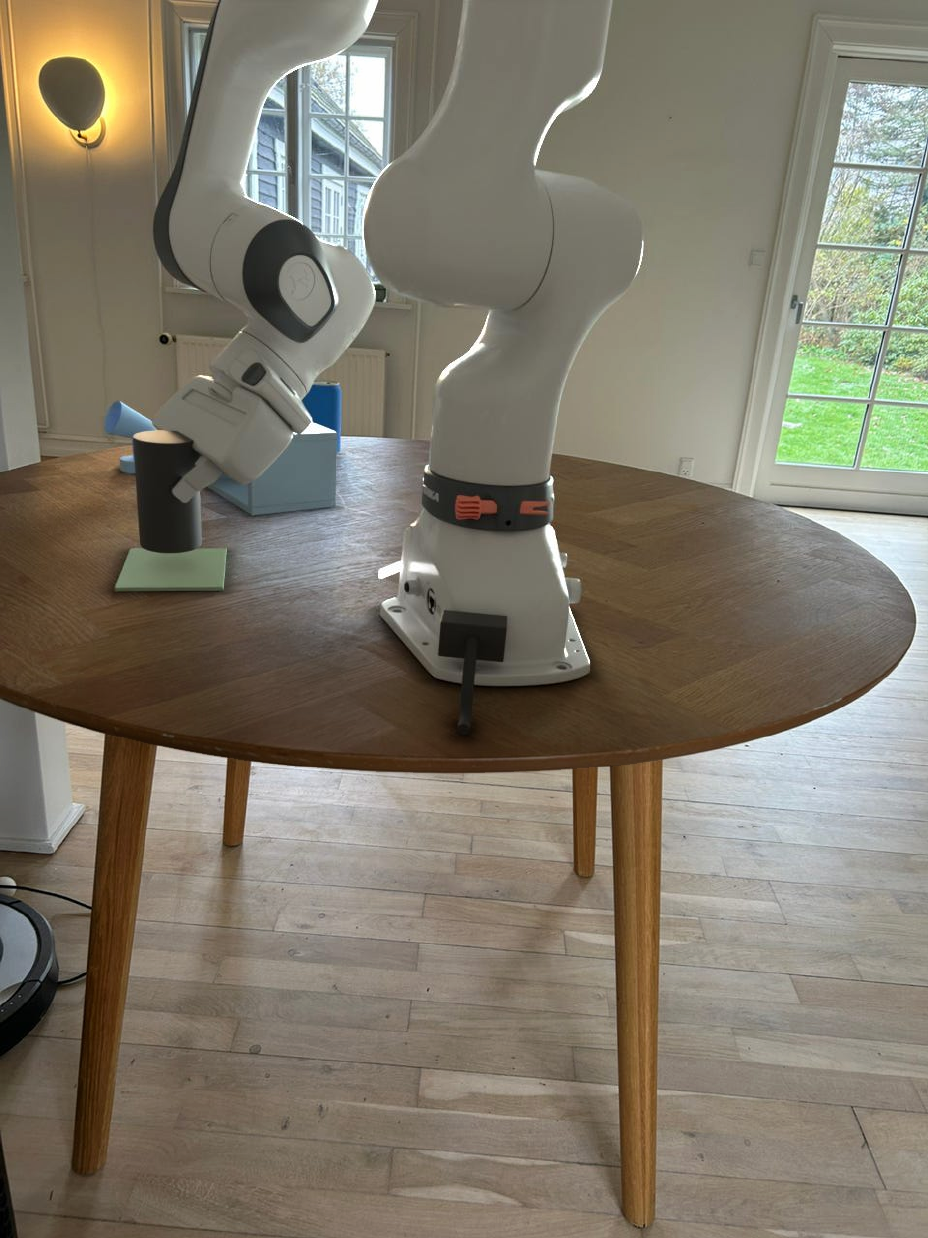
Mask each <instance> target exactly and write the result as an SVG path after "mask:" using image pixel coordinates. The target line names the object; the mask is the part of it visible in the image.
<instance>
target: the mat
mask: <svg viewBox="0 0 928 1238" xmlns="http://www.w3.org/2000/svg"><path fill="white" fill-rule="evenodd" d="M226 561H227V548H225V547H223V548H220V547H216V548H215V547H214V548H213V547H212V548H210V547H209V548H208V547H199V548H197V549H195V550H192V551H188V552H183V553H157V552H151V551H148V550H145V549H143V548H142V547H130V549H129V551H128V553H127V555H126V559H125V561H124V562H123V566H122V568H121V571H120V573H119V575H118V578H117V580H116V583H115V586H114V592H212V591H213V592H217V591H218V592H219V591H220V592H221V591H224V588H225V587H224V586H225V585H224V584H225V574H226Z"/></svg>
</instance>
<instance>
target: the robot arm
mask: <svg viewBox="0 0 928 1238" xmlns="http://www.w3.org/2000/svg"><path fill="white" fill-rule="evenodd" d="M613 1H614V0H462V8H461V16H460V23H459V24H460V25H459V31H458V39H457V45H456V51H455V57H454V61H453V66H452V69H451V73H450V75H449V79H448V83H447V85H446V89H445V91H444V94H443V96H442V98H441V101H440V103H439V105H438V106H437V109H436V111H435V113H434V114H433V117H432V118H431V120H430V122H429V123H428V125H427V126H426V128H425V129H424V131H423V132H422V134H421V135H420V136H419V137H418V139H417V140H416V141H415V142H414V143H413V144H412V145H411V146H410V147H409V148H408V149H407V150H406V151H405V152H404V153H403V154H401V155H400V156H398V157H397V158H396V159H395V160H393V161H392V162H390V163H389V164H388V165H387V166H386V167H385V168H384V169H383V170H382V171H381V173H380V174H379V175H378V177H377V178H376V180H375V181H374V183H373V185H372V187H371V189H370V191H369V194H368V195H367V199H366V202H365V205H364V211H363V217H362V240H363V247H364V251H365V255H366V257H367V261H368V263H369V266H370V267H371V270H372V271H373V274H374V276H375V277H376V278H377V280H378V282H379V283H380V284H381V285H382V287H383V288H385V290H387V291H389V292H390V293H393V294H395V295H398V296H401V297H404V298H407V299H410V300H413V301H416V302H420V303H423V304H427V305H430V306H434V307H438V308H443V309H444V308H445V309H462V310H463V309H464V310H465V309H466V310H484V311H488V314H487V317H486V321H485V324H484V327H483V329H482V331H481V334H480V335H479V337H478V339H477V340H476V341H475V343H474V344H473V346H472V347H471V348H470V350H469V351H467V352H466V353H465V354H464V355H463V356H461V357H460V358H459V357H458V358H457V359H456V360H455V361H453V362H451V363H450V364H448V366H446V368H445V369H444V370H443V371H441V374H440V375H439V377H438V378H437V380H436V383H435V386H434V389H433V396H432V411H431V412H432V413H431V425H430V426H431V427H430V430H431V431H430V443H429V457H428V464H427V465H425V467H424V468H423V477H422V479H421V487H420V488H421V505H422V507H423V509H422V511H421V513H420V514H419V515H418V516H417V518H416V519H415V520H414V521H413V522H412V523H411V524H410V525H408V527H407V528H406V529H404V532H403V538H402V547H401V548H402V549H401V558H400V560H399V561H396V562H394V563H392V564H389V565H386V566H384V567H381V568H380V569H378V579H379V580H380V579H381V580H382V579H384V578H386V577H387V578H388V577H389V576H391V575H395V574H397V573H399V579H398V580H399V581H398V589H397V596H396V597H393V598H390V599H386V600H385V601H382V602H381V604H380V609H379V615H380V617H381V618H382V619H383V620H384V622H385V623H386V625H388V626H389V627H390V629H391V630H392V631H393V632H394V634H396V636H397V637H398V638H399V640H401V641H402V643H403V644H404V645H405V646H406V647H407V649H409V651H410V652H411V653H412V654H413V656H414V657H415V658H416V659H417V660H418V661H419V663H420V664H421V665H422V666H423V668H424V669H426V671H427V672H428V673H429V674H430V675H431V676H432V677H434V678H435V679H438V680H442V681H445V682H446V681H447V682H451V683H456V684H461V687H460V699H459V710H458V720H457V727H456V730H457V733H459V734H460V735H462V736H463V735H464V736H465V735H468V734H469V733H470V732H471V724H472V713H473V701H474V690H475V686H482V687H483V686H485V687H523V686H524V687H525V686H541V685H550V684H557V683H558V684H559V683H565V682H568V681H569V682H570V681H573V680H577V679H580V678H582V677H584V676H587V675H588V674H590V671H591V661H590V658H589V656H588V653H587V650H586V648H585V644H584V643H583V640H582V638H581V635H580V631H579V629H578V626H577V624H576V621H575V618H574V616H573V614H572V611H571V608H570V604H573V605H576V604H579V602H580V601H581V596H582V582H581V579H579V578H577V577H565V572H564V568H567V564H568V555H567V553H566V552H560V550H559V545H558V541H557V538H556V530H555V529H554V528H553V526H551V523H552V522H553V520H554V504H555V492H554V478H553V477H552V476H551V474H550V473H551V472H550V471H551V464H552V457H553V449H554V443H555V434H556V428H557V422H558V416H559V412H560V411H559V410H560V405H561V400H562V395H563V392H564V388H565V385H566V382H567V378H568V377H569V373H570V371H571V368H572V366H573V364H574V361H575V359H576V357H577V355H578V353H579V351H580V348H581V347H582V345H583V343H584V342H585V339H586V337H587V336H588V334H589V333H590V331H591V330H592V328H593V326H594V325H595V324H596V322H597V321H598V320H599V318H600V317H601V316H602V315H603V314H604V313H605V312H606V311H607V310H608V309H609V308H610V307H611V306H612V305H613V304H614V303H616V302H617V301H618V300H620V299H621V298H622V297H623V296H624V295H625V294H626V292H627V291H628V290H629V289H630V288H631V286H632V284H633V282H634V280H635V278H636V276H637V274H638V272H639V269H640V265H641V262H642V257H643V251H644V233H643V226H642V222H641V218H640V216H639V214H638V211H637V209H636V207H635V206H634V204H633V203H632V202H631V201H630V200H629V199H627V198H626V197H625V196H623V195H622V194H620V193H617V192H615V191H614V190H612V189H611V188H609V187H607V186H605V185H603V184H601V183H598V182H595V181H594V180H592V179H590V178H587V177H583V176H579V175H574V174H566V173H561V172H555V171H550V170H544V169H537V168H536V165H537V159H538V156H539V152H540V149H541V146H542V144H543V141H544V139H545V136H546V134H547V132H548V130H549V128H550V127H551V125H552V123H553V122H554V121H555V119H556V118H557V117H558V116H559V115H561V114H563V113H564V112H566V111H568V110H571V109H573V108H574V107H576V106H577V105H579V104H580V103H582V101H584V100H585V99H586V98H587V97H588V96H589V95H590V94H591V93H592V92H593V90H594V89H595V88H596V86H597V84H598V82H599V80H600V77H601V75H602V72H603V69H604V61H605V56H606V50H607V49H606V48H607V42H608V36H609V28H610V22H611V15H612V7H613ZM378 2H379V0H218V1H217V3H216V5H215V7H214V9H213V12H212V14H211V18H210V21H209V24H208V27H207V30H206V34H205V38H204V42H203V46H202V50H201V54H200V58H199V63H198V67H197V72H196V75H195V81H194V85H193V90H192V93H191V99H190V104H189V107H188V111H187V116H186V120H185V126H184V130H183V134H182V137H181V138H182V139H181V144H180V147H179V152H178V156H177V159H176V162H175V165H174V168H173V170H172V172H171V175H170V177H169V179H168V181H167V183H166V185H165V187H164V189H163V190H162V194H161V196H160V197H159V200H158V203H157V205H156V208H155V211H154V215H153V220H152V221H153V223H152V238H153V244H154V249H155V251H156V254H157V256H158V259H159V261H160V263H161V264H162V267H164V269H165V270H166V272H167V273H168V274H169V275H170V276H171V277H173V279H175V280H176V281H177V282H179V283H181V284H183V285H186V286H188V287H190V288H193V289H196V290H198V291H201V292H203V293H207V294H209V295H211V296H213V297H215V298H216V299H219V300H220V301H222V302H224V303H226V304H227V305H229V306H231V307H233V308H235V309H237V310H240V311H242V313H243V314H244V315H245V316H246V319H247V323H246V325H245V326H244V327H242V328H241V329H240V330H239V332H237V333H236V335H235V336H234V337H233V338H232V339H231V340H230V341H229V343H227V344H226V346H225V347H224V348H223V349H222V350H221V351H220V352H219V353H218V354H217V356H216V357H215V358H214V359H213V360H212V361H211V362H210V363H209V365H208V368H209V371H210V375H196V376H194V377H192V378H191V379H189V380H188V381H187V382H186V383H184V384H183V385H182V386H181V387H180V388H179V389H178V390H177V391H176V392H175V393H174V394H173V395H172V396H171V397H170V398H168V400H166V402H164V403H163V404H162V406H160V408H159V409H158V410H157V411H156V412H155V414H154V416H153V418H152V420H151V421H152V425H153V426H154V427H155V428H156V430H170V431H178V432H180V433H182V434H183V435H185V436H187V437H189V438H190V439H192V440H194V442H193V444H192V448H193V449H194V450H195V451H196V452H198V453H199V459H198V460H197V462H196V463H195V465H196V466H195V467H194V468H193V469H192V470H191V471H189V472H188V473H187V474H186V475H184V476H183V477H182V478H181V477H180V476H179V477H178V478H177V479H176V480H175V481H174V483H173V484H171V485H170V487H169V492H170V493H171V494H173V495H174V496H175V497H176V498H177V499H179V500H180V501H181V502H183V503H187V502H189V500H190V499H191V498H192V497H193V496H194V495H195V494H196V493H197V491H200V492H201V490H203V489H205V488H208V487H207V486H208V485H210V484H212V483H213V482H215V481H216V480H217V479H218V478H219V476H220V475H221V474H222V473H223V474H225V475H227V476H228V477H230V478H232V479H233V480H235V481H237V482H238V483H240V484H242V485H245V484H248V483H250V482H252V481H254V480H255V479H257V478H258V477H259V476H261V475H262V474H263V473H264V472H265V471H266V470H267V469H268V468H269V466H270V465H271V464H272V463H273V462H274V461H275V460H276V459H277V458H278V457H279V456H280V454H281V453H282V452H283V451H284V450H285V449H286V448H287V446H288V445H289V444H290V442H291V440H292V438H293V433H295V434H301V433H303V432H304V431H305V430H306V429H307V428H308V427H309V426H310V424H311V423H312V417H311V416H310V414H309V413H308V411H307V410H306V408H305V406H304V405H303V403H302V399H303V398H304V397H305V396H306V395H307V394H308V392H309V391H310V389H311V387H312V384H313V382H314V380H315V379H317V377H319V375H320V374H321V373H322V372H323V371H325V370H327V369H328V368H330V367H331V366H333V365H334V364H335V363H336V362H337V361H338V359H340V357H341V356H342V355H343V354H344V353H345V352H346V350H348V348H349V347H350V346H351V344H352V343H353V342H354V340H355V339H356V338H357V336H358V335H359V333H360V332H361V331H362V330H363V328H364V326H365V325H366V323H367V321H368V320H369V318H370V316H371V313H372V312H373V309H374V306H375V304H376V299H377V298H376V296H377V295H376V290H375V285H374V283H373V279H372V278H371V275H370V273H369V272H368V270H367V269H366V268H365V267H366V266H364V264H363V263H362V262H361V261H360V259H359V258H358V257H357V256H356V255H355V254H354V253H353V252H352V251H350V250H349V249H347V248H346V247H344V246H343V245H340V244H336V243H330V242H327V241H325V240H323V239H321V238H319V237H318V236H316V234H315V233H314V232H313V230H311V229H310V227H308V226H307V225H305V224H304V223H303V222H302V221H300V220H299V219H297V218H295V217H293V216H291V215H289V214H287V213H285V212H283V211H282V210H279V209H276V208H275V207H272V206H269V205H267V204H263V203H262V202H258V201H256V200H254V199H252V198H250V197H248V196H247V193H246V189H245V176H246V173H247V169H248V164H249V160H250V157H251V153H252V149H253V145H254V141H255V138H256V134H257V130H258V126H259V123H260V119H261V115H262V112H263V108H264V104H265V102H266V100H267V98H268V95H269V94H270V92H271V90H272V89H273V88H274V87H275V86H276V84H277V83H278V82H279V81H280V80H281V79H283V78H284V77H285V76H286V75H288V74H290V73H292V72H293V71H295V70H297V69H299V68H302V67H304V66H307V65H311V64H314V63H318V62H322V61H325V60H328V59H331V58H333V57H335V56H337V55H339V54H341V53H343V52H344V51H346V50H347V49H348V48H350V47H351V46H352V45H353V44H354V43H356V42H357V41H358V40H359V39H361V37H362V36H363V35H364V33H366V31H367V29H368V27H369V25H370V22H371V20H372V18H373V16H374V13H375V10H376V8H377V5H378Z"/></svg>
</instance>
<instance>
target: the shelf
mask: <svg viewBox="0 0 928 1238" xmlns="http://www.w3.org/2000/svg"><path fill="white" fill-rule="evenodd" d="M337 457H338V455H337V432H335V431H333V430H330V429H328V428H325V427H322V426H320V425H317V424H315V423H311V424H310V426H309V427H308V428H307V429H306V430H305V431H304V432H303V433H301V434H295V433H293V438H292V440H291V442H290V444H289V445H288V446H287V448H286V449H285V450H284V451H283V452H282V453H281V454H280V456H279V457H278V458H277V459H276V460H275V461H274V462H273V463H272V464H271V465H270V466H269V468H268V469H267V470H266V471H265V472H264V473H263V474H262V475H261V476H259V477H258V478H257V479H255V480H254V481H252V482H250V483H248V484H245V485H242V484H240V483H238V482H237V481H235V480H233V479H232V478H230V477H228V476H227V475H225V474H223V473H222V474H221V475H220V476H219V478H218V479H217V480H216V481H215V482H213V483H212V484H210V485H208V486H207V487H206V488H208V489H209V490H211V491H213V492H214V493H216V494H217V495H219V496H220V497H221V498H223V499H225V500H227V501H228V502H229V503H232V504H233V505H235V506H236V507H238V508H239V509H241V510H243V511H244V512H246V513H247V514H249V515H250V516H253V517H254V516H261V515H271V514H281V513H289V512H297V511H309V510H316V509H325V508H334V507H336V506H337V464H338V463H337V461H338V459H337Z"/></svg>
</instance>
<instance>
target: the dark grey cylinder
mask: <svg viewBox="0 0 928 1238" xmlns="http://www.w3.org/2000/svg"><path fill="white" fill-rule="evenodd" d="M132 440H133V448H134V462H135V473H134V475H135V476H134V477H135V491H136V505H137V506H136V507H137V519H138V520H137V521H138V533H139V545H140V548H143V549H145V550H148V551H151V552H157V553H183V552H188V551H192V550H195V549H197V548H201V547H202V544H203V534H202V533H203V532H202V507H201V504H202V503H201V490H200V491H197V493H196V494H195V495H194V496H193V497H192V498H191V499H190V500H189V502H187V503H183V502H181V501H180V500H179V499H177V498H176V497H175V496H174V495H173V494H171V493H170V492H169V487H170V485H171V484H173V483H174V481H175V480H176V479H177V478H178V477H179V476H180V477H181V478H182V477H183V476H184V475H186V474H187V473H188V472H189V471H191V470H192V469H193V468H194V467H195V466H196V465H195V463H196V462H197V460H198V459H199V453H198V452H196V451H195V450H194V449H193V448H192V444H193V442H194V440H192V439H190V438H189V437H187V436H185V435H183V434H182V433H180V432H178V431H170V430H157V429H156V430H155V431H145V432H140V433H137V434H135V435H133V439H132ZM133 448H132V449H133Z"/></svg>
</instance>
